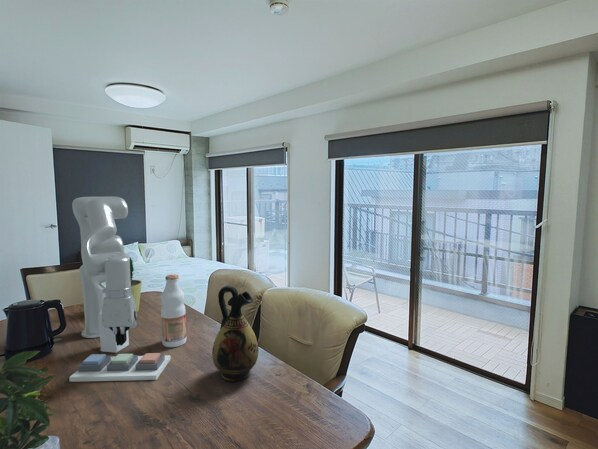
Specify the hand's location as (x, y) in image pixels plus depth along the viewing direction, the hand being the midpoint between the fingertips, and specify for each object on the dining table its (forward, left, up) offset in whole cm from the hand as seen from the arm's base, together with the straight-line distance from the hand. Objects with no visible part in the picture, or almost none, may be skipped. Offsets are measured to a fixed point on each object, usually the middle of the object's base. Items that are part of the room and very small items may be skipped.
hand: (121, 343), depth 120 cm
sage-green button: (0, 0, -7) cm, 7 cm away
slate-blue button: (0, -9, -7) cm, 12 cm away
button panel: (0, 0, -9) cm, 9 cm away
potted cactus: (-60, -26, -9) cm, 65 cm away
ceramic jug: (+4, +39, -10) cm, 41 cm away
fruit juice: (-21, +11, -9) cm, 25 cm away
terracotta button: (0, +10, -7) cm, 12 cm away
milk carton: (-17, -11, -9) cm, 22 cm away
